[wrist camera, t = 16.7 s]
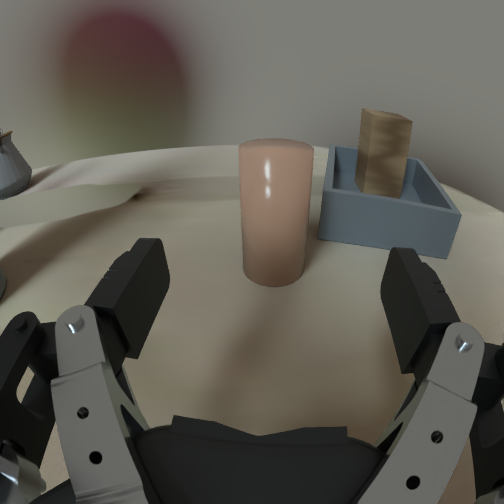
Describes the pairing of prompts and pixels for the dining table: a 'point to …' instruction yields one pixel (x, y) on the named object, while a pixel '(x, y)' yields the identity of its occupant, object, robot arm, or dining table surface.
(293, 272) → the terracotta cylinder
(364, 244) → the blue-gray tote
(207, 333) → the dining table surface
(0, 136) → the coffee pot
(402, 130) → the walnut block
